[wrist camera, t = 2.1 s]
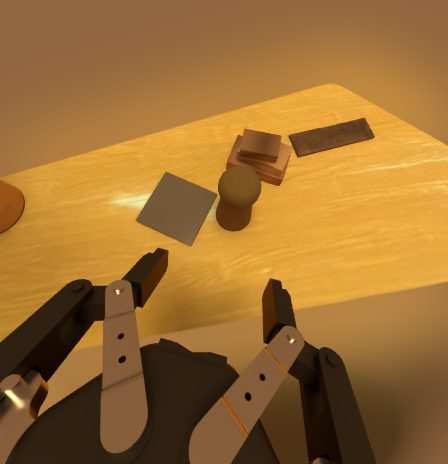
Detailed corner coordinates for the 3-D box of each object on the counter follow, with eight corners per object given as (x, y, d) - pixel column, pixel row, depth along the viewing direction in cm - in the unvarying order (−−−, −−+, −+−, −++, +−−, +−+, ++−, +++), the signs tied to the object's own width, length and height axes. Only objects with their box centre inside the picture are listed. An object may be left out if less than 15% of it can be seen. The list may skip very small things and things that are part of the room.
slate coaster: (137, 221, 30) (135, 220, 29) (166, 173, 32) (165, 171, 32) (190, 246, 29) (190, 245, 29) (217, 195, 32) (217, 193, 31)
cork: (208, 210, 31) (203, 174, 20) (236, 191, 32) (245, 147, 21) (230, 238, 30) (236, 215, 19) (258, 217, 31) (279, 185, 20)
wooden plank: (299, 155, 33) (290, 132, 34) (296, 159, 35) (287, 137, 36) (375, 136, 36) (364, 115, 36) (370, 141, 37) (359, 120, 38)
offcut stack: (226, 168, 33) (228, 147, 28) (237, 142, 35) (240, 118, 29) (278, 185, 32) (290, 168, 27) (287, 158, 34) (299, 136, 29)
